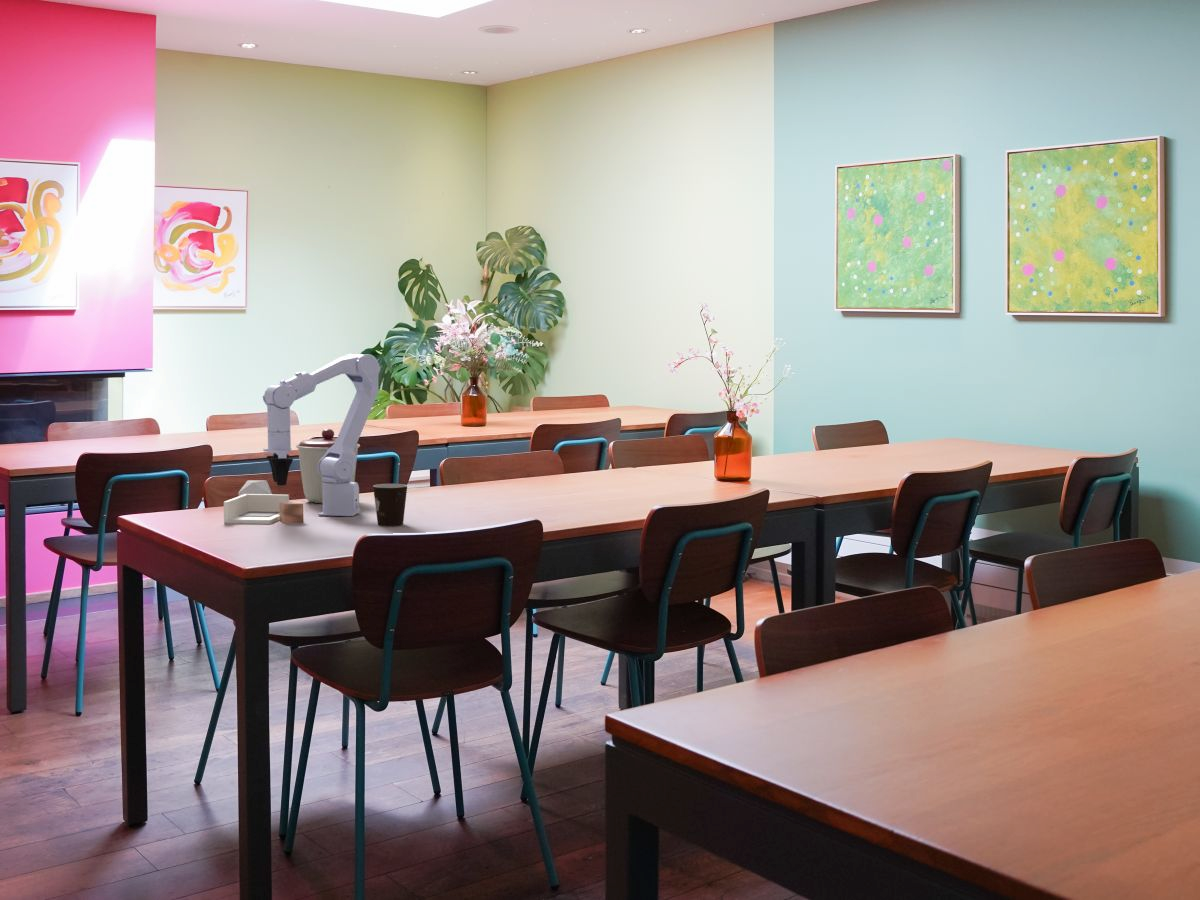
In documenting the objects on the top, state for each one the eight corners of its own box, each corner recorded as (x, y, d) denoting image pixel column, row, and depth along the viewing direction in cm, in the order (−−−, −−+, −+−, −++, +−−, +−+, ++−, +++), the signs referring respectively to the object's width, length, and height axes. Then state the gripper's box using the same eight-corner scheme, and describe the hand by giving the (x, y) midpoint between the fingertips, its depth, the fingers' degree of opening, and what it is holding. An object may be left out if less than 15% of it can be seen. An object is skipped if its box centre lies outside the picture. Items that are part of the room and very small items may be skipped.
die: (254, 515, 339) (276, 485, 341) (227, 498, 340) (249, 468, 343) (262, 522, 347) (283, 492, 350) (235, 505, 348) (257, 475, 351)
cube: (298, 520, 328) (298, 501, 327) (303, 522, 323) (303, 503, 323) (279, 521, 326) (279, 502, 325) (284, 523, 321) (283, 504, 321)
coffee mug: (375, 522, 325) (374, 483, 324) (408, 521, 326) (408, 483, 325) (370, 529, 313) (370, 489, 312) (405, 528, 314) (405, 489, 313)
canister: (370, 503, 361) (370, 430, 359) (310, 507, 351) (309, 432, 349) (345, 496, 376) (345, 425, 374) (287, 500, 366) (286, 427, 364)
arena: (289, 515, 336) (288, 494, 335) (270, 524, 320) (269, 502, 319) (245, 514, 336) (244, 493, 336) (224, 523, 320) (223, 501, 320)
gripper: (260, 429, 331) (261, 480, 332) (266, 434, 317) (266, 487, 318) (287, 429, 333) (288, 479, 334) (294, 433, 320) (295, 486, 321)
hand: (279, 483), depth 326 cm, fingers open, 7 cm apart
